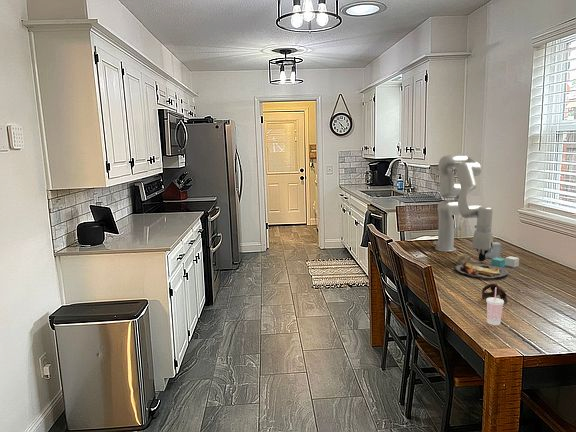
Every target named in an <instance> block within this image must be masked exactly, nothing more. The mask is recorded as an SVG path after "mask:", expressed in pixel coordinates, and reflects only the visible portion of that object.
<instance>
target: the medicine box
mask: <svg viewBox="0 0 576 432" xmlns="http://www.w3.org/2000/svg"><path fill="white" fill-rule="evenodd" d="M501 248H502V244H501V243H500V242H494V241H493V248H492V252H488V253H487V254H486V255H485V259H493V258H496V257H497V258H501V250H502V249H501Z"/></svg>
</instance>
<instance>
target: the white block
mask: <svg viewBox="0 0 576 432" xmlns="http://www.w3.org/2000/svg"><path fill="white" fill-rule="evenodd" d="M504 259H505V267H511V268H517V267H519V266H520V258H519V257H516V256H511V255H510V256H506V257H505V258H504Z"/></svg>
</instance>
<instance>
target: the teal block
mask: <svg viewBox="0 0 576 432" xmlns="http://www.w3.org/2000/svg"><path fill="white" fill-rule="evenodd" d="M490 259H491V260H490V261H491V262H490V265H494V266H496V267H500V268H503V269H505V268H506V266H505V258H501V257H500V258H497V257H496V258H490Z"/></svg>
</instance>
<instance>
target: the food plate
mask: <svg viewBox="0 0 576 432" xmlns="http://www.w3.org/2000/svg"><path fill="white" fill-rule="evenodd" d="M454 269H455V271H456V272H458V273H459V272H460V273H461V274H465V275H467V276H469V277H471V278H479V279H481V278H483V279H494V278H502V277H504V276H506V275H508V274H509V272H508V270H506V269H505V268H500V267H496V266H494V265H491V264H488V263H478V262H477V263H474V262H470V263H469V262H465V263H464V264H457V265H455V266H454ZM477 272H478V273H477ZM489 276H490V277H489Z"/></svg>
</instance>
